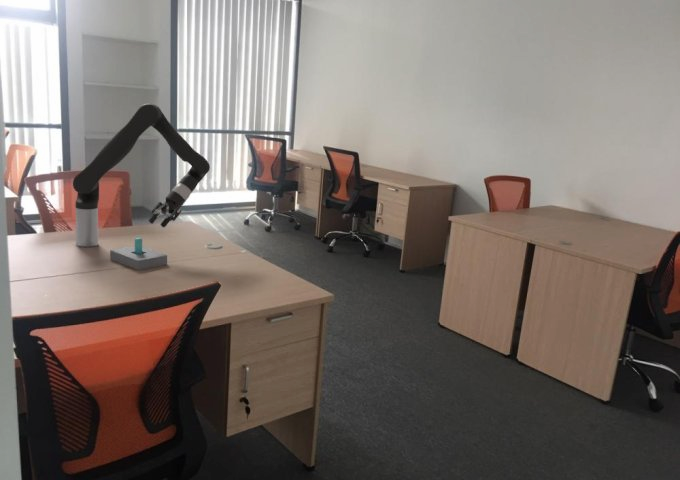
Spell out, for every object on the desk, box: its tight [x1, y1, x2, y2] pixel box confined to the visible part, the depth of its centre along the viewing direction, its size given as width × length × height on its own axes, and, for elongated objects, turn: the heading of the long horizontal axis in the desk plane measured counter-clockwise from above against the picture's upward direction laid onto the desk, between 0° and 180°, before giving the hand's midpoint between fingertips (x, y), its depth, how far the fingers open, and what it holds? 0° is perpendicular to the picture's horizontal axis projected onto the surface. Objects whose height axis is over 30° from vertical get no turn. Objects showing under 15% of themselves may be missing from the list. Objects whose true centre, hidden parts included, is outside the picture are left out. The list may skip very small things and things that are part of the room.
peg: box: [134, 237, 143, 255], centre depth 248 cm, size 3×3×10 cm
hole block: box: [109, 245, 168, 271], centre depth 248 cm, size 20×14×4 cm
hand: (156, 224), depth 252 cm, fingers open, 8 cm apart
